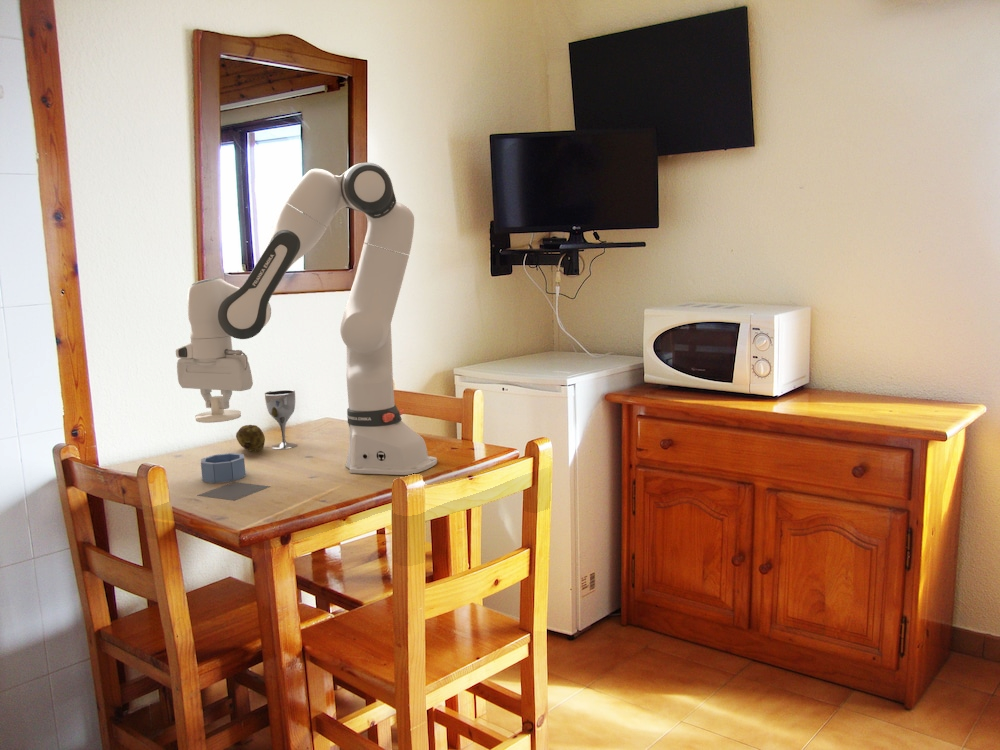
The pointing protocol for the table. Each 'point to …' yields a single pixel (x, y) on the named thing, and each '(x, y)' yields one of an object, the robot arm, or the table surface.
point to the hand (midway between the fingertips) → (217, 408)
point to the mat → (233, 491)
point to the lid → (217, 413)
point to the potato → (251, 437)
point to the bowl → (223, 468)
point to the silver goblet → (281, 411)
